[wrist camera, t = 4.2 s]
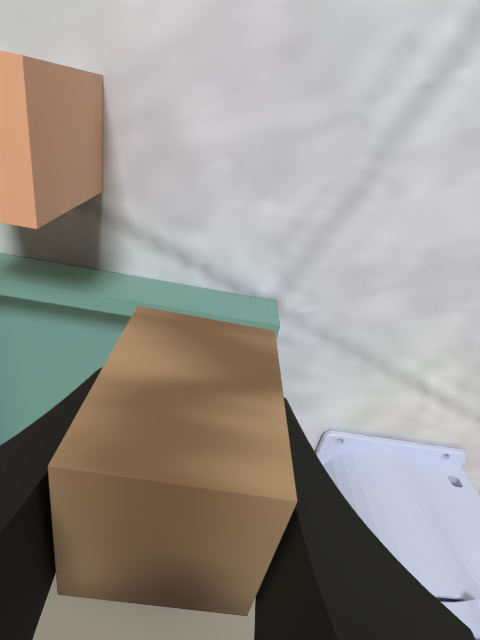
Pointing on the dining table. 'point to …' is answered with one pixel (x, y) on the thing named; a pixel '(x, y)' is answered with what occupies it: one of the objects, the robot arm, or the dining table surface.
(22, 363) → the tray
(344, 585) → the robot arm
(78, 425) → the walnut block
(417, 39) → the dining table surface
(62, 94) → the terracotta block
